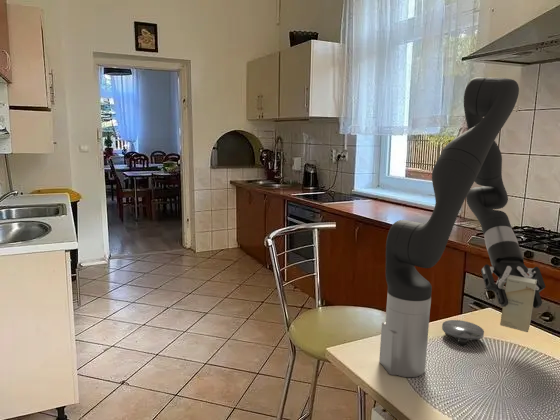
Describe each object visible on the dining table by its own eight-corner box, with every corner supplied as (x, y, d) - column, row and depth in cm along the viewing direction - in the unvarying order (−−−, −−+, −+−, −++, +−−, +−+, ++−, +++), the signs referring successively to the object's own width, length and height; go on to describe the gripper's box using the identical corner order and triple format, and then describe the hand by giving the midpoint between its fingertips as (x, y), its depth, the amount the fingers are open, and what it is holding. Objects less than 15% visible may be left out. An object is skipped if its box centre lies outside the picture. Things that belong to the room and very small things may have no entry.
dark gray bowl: (455, 348, 108) (456, 337, 107) (434, 331, 117) (435, 320, 117) (491, 346, 109) (492, 335, 109) (467, 329, 119) (468, 319, 119)
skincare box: (499, 325, 106) (505, 278, 104) (502, 320, 110) (508, 273, 108) (529, 333, 103) (535, 283, 101) (530, 327, 106) (537, 279, 104)
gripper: (481, 238, 110) (498, 298, 101) (537, 240, 111) (560, 300, 101) (470, 253, 117) (485, 311, 107) (523, 255, 117) (543, 313, 107)
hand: (521, 306), depth 104 cm, fingers closed on skincare box, 7 cm apart
